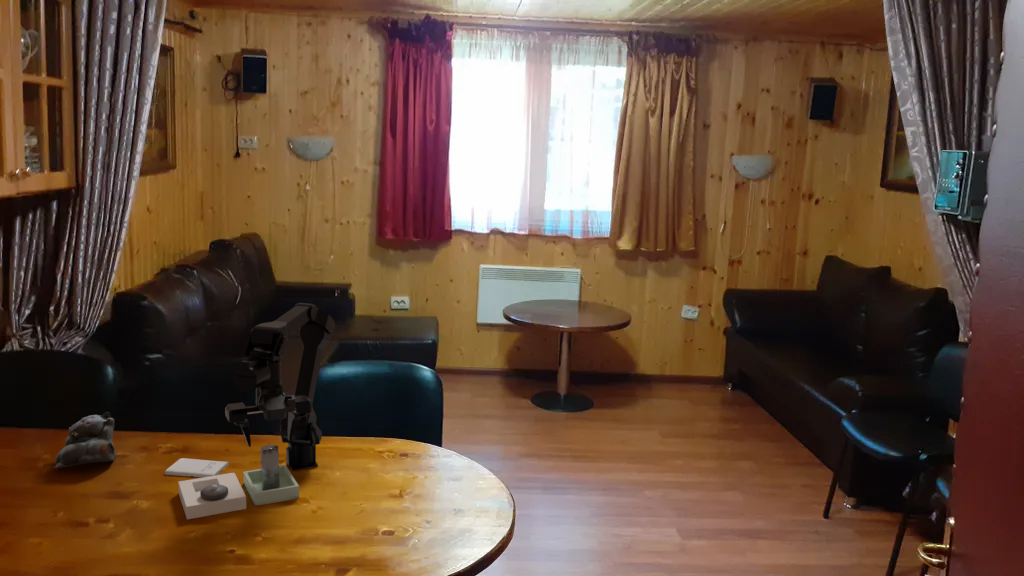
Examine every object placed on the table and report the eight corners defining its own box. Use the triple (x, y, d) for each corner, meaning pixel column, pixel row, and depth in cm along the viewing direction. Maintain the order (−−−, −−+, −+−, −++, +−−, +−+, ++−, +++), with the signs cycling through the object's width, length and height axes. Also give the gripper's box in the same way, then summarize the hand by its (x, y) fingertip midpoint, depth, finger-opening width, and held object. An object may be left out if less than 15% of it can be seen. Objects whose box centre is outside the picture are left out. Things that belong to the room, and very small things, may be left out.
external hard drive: (181, 463, 206) (228, 466, 205) (165, 476, 198) (214, 480, 197) (181, 457, 206) (228, 460, 204) (164, 470, 198) (213, 474, 196)
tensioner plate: (234, 484, 194) (234, 463, 193) (246, 508, 182) (245, 486, 181) (178, 493, 188) (177, 471, 187) (186, 519, 176) (186, 496, 175)
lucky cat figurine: (42, 470, 197) (46, 413, 201) (84, 472, 208) (88, 418, 212) (87, 463, 192) (91, 404, 196) (128, 465, 203) (131, 410, 207)
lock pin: (277, 483, 194) (276, 443, 192) (281, 489, 190) (280, 449, 189) (260, 486, 192) (258, 446, 190) (264, 492, 188) (262, 452, 187)
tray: (285, 476, 199) (285, 465, 199) (299, 497, 188) (298, 485, 187) (243, 483, 194) (243, 471, 194) (255, 506, 183) (254, 493, 183)
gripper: (232, 394, 175) (234, 462, 177) (318, 384, 184) (318, 449, 186) (223, 380, 184) (225, 444, 187) (305, 371, 193) (306, 433, 196)
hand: (269, 443), depth 189 cm, fingers open, 9 cm apart
